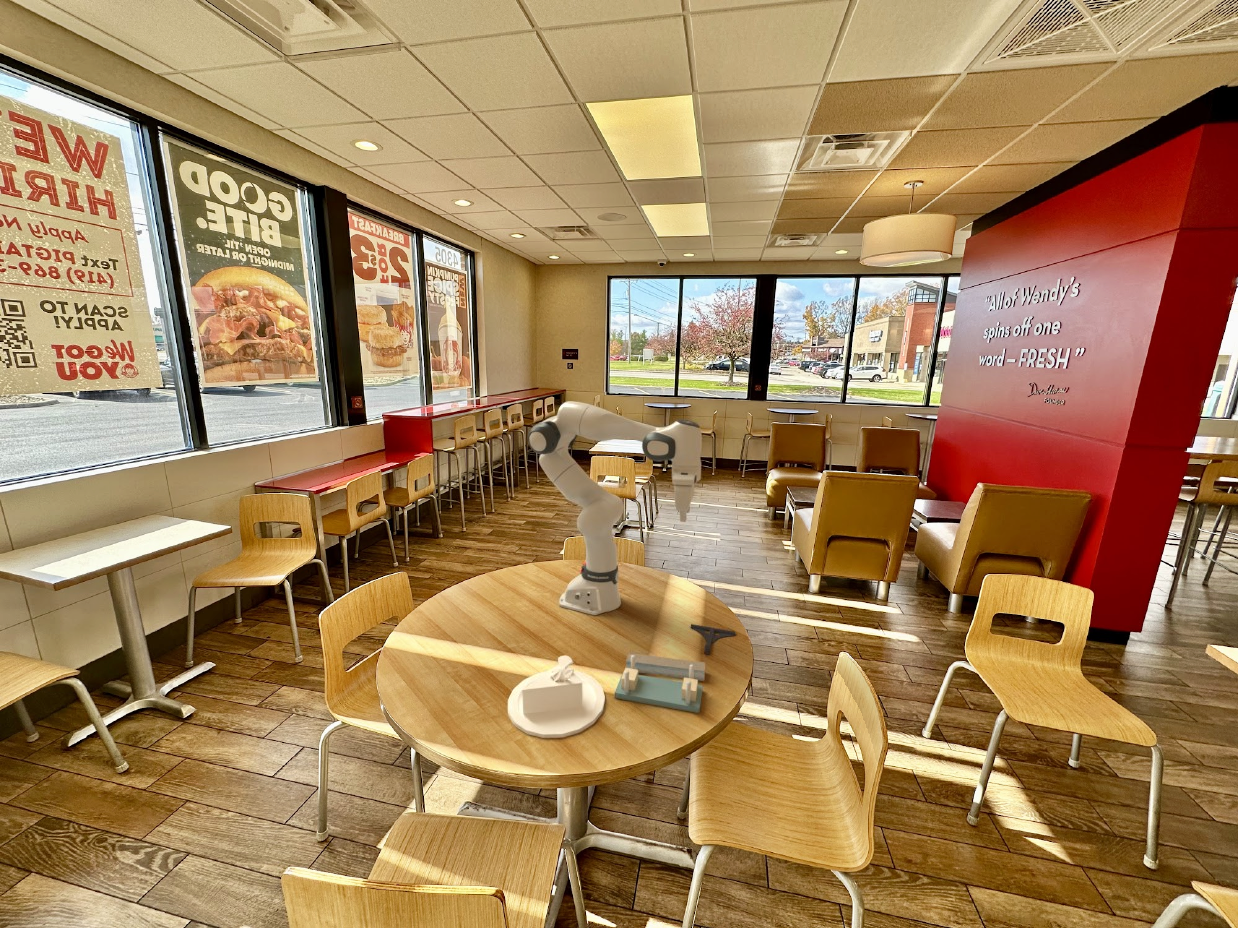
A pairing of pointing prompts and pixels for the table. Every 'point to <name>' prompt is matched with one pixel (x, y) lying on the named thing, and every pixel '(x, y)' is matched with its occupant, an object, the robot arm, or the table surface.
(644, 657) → the long grey flat plank
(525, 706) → the dish
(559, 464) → the robot arm
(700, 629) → the bracket
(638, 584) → the table surface
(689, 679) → the rack
